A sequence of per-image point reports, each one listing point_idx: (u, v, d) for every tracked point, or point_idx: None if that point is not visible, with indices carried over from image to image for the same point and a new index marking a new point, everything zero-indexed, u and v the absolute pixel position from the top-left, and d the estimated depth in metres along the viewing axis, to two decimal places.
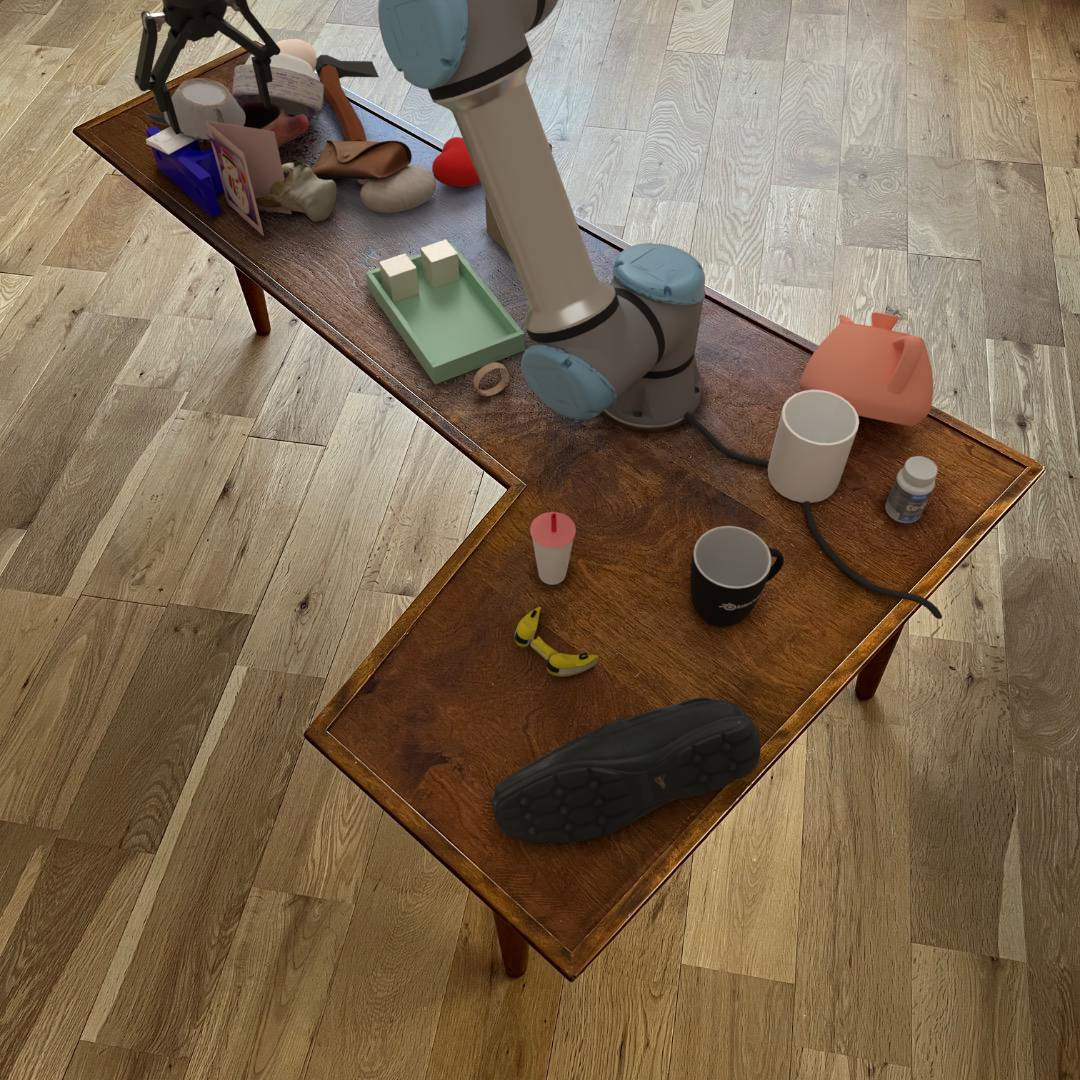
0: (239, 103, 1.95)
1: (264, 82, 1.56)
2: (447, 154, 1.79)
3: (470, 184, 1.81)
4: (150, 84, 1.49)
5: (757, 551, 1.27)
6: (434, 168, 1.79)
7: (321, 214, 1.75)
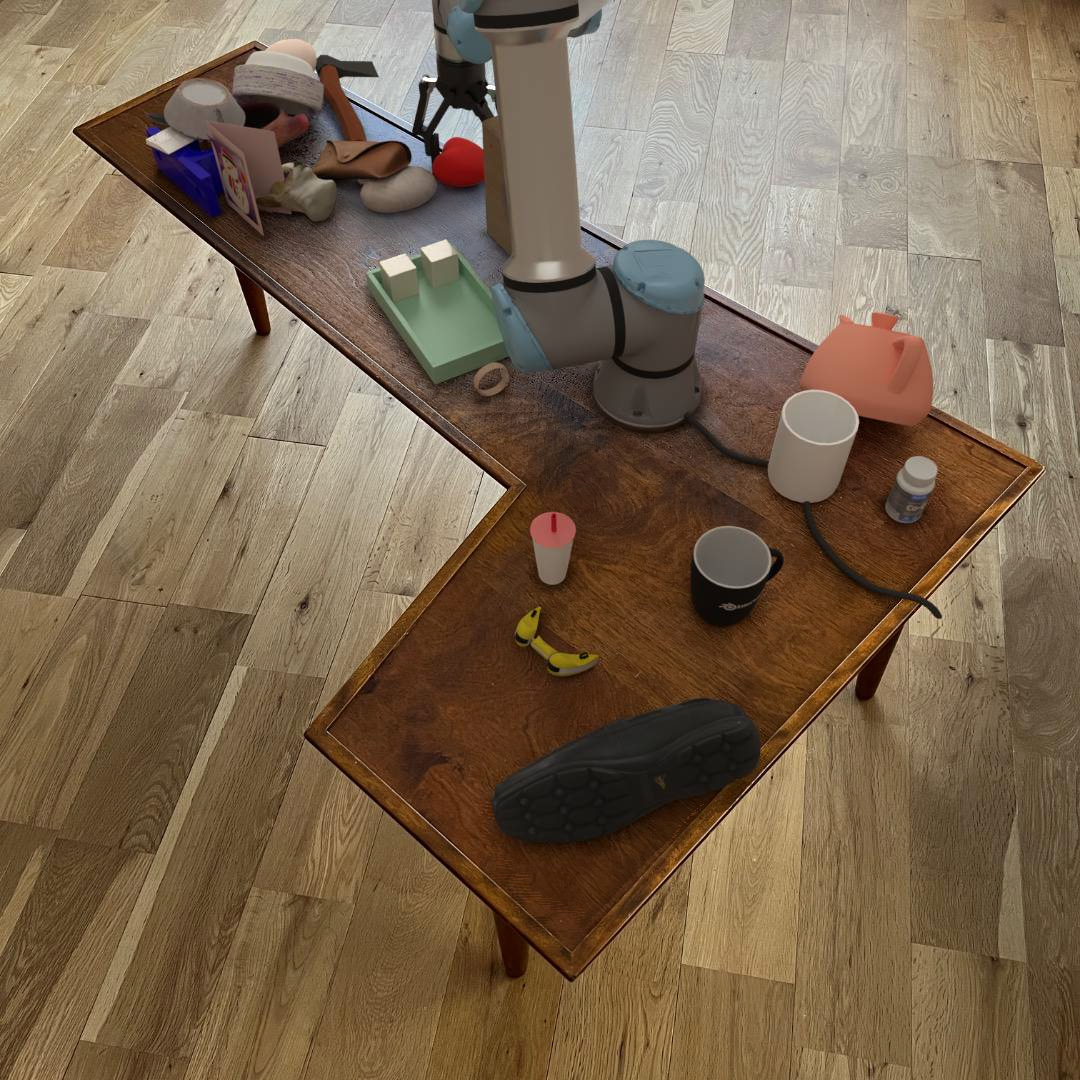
0: (239, 103, 1.95)
1: None
2: (447, 154, 1.79)
3: (470, 184, 1.81)
4: (422, 133, 1.79)
5: (757, 551, 1.27)
6: (434, 168, 1.79)
7: (321, 214, 1.75)
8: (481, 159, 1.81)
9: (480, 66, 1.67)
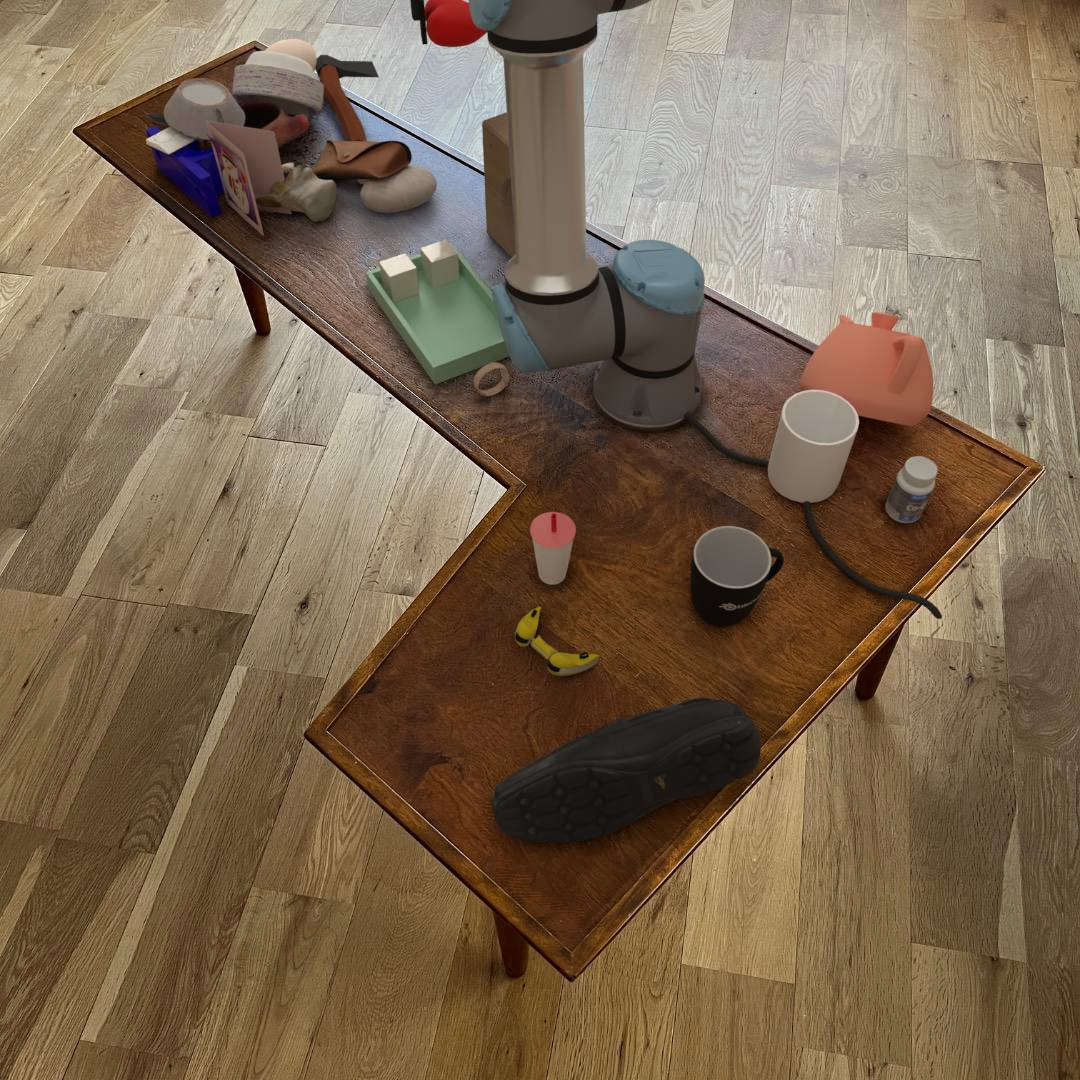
0: (239, 103, 1.95)
1: None
2: (442, 10, 1.59)
3: (473, 40, 1.61)
4: None
5: (757, 551, 1.27)
6: (432, 29, 1.59)
7: (321, 214, 1.75)
8: None
9: None
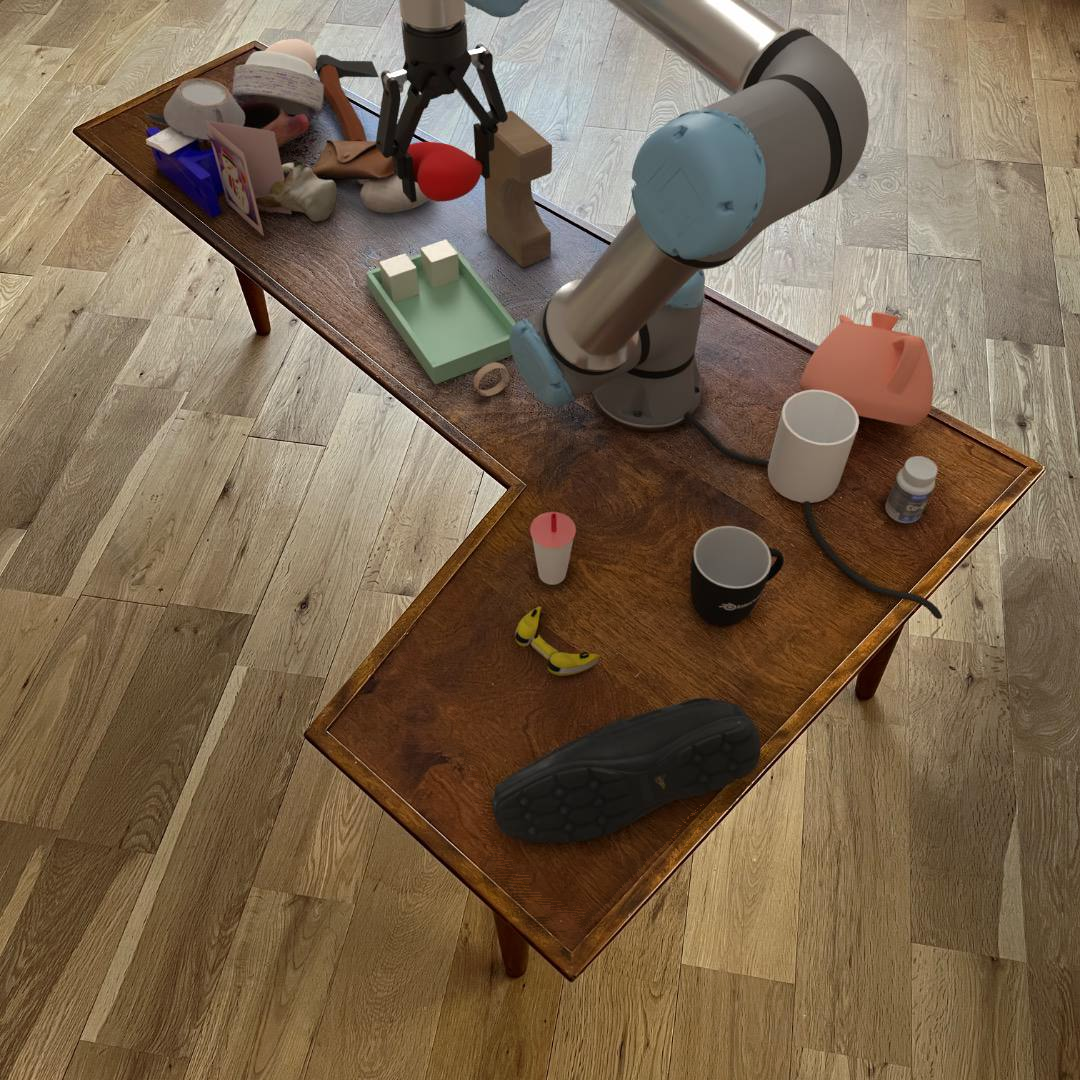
0: (239, 103, 1.95)
1: (486, 151, 1.41)
2: (435, 163, 1.37)
3: (473, 187, 1.40)
4: (393, 151, 1.35)
5: (757, 551, 1.27)
6: (432, 186, 1.36)
7: (321, 214, 1.75)
8: (465, 153, 1.41)
9: None
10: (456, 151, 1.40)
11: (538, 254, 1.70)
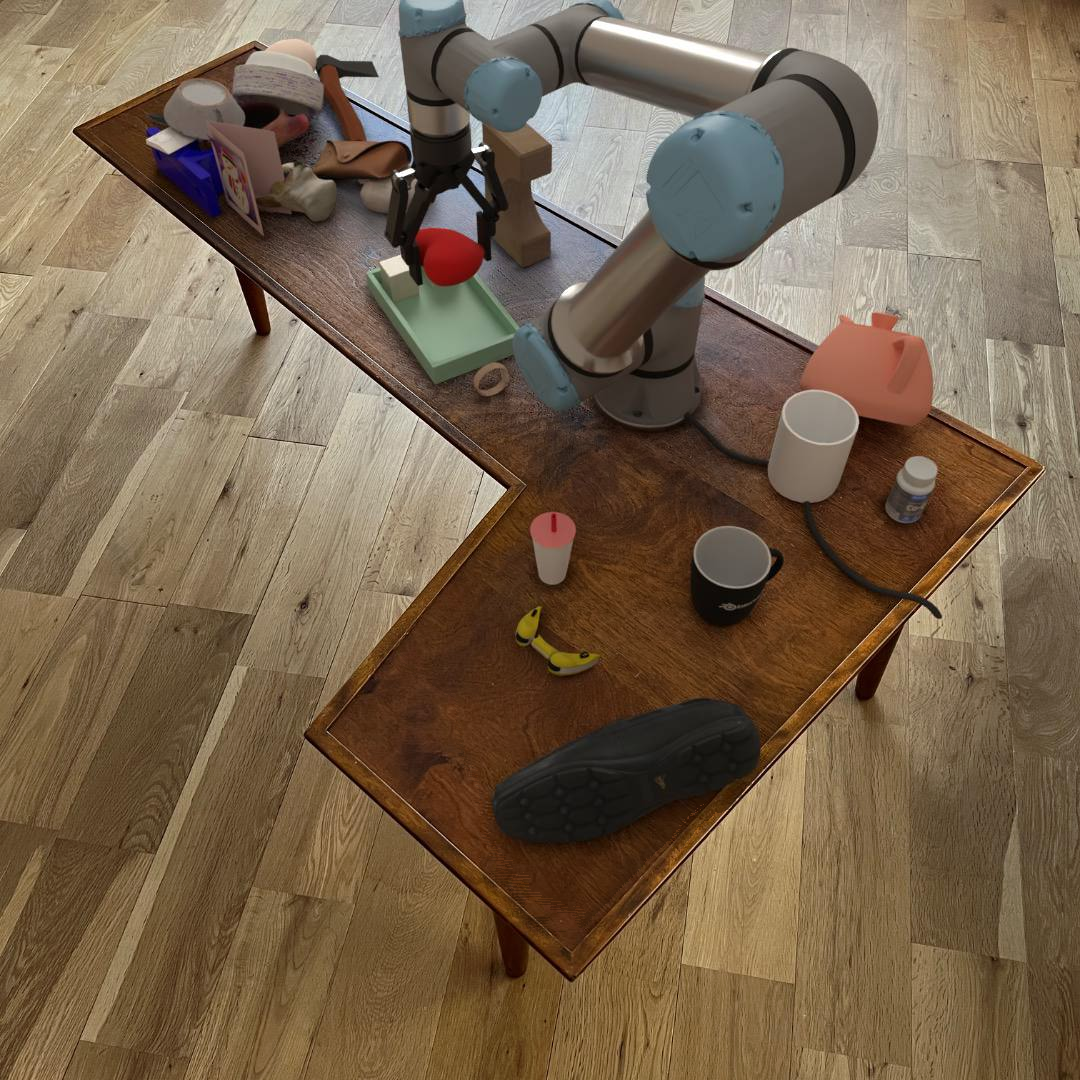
0: (239, 103, 1.95)
1: (488, 237, 1.49)
2: (441, 251, 1.45)
3: (476, 272, 1.48)
4: (401, 241, 1.43)
5: (757, 551, 1.27)
6: (437, 274, 1.44)
7: (321, 214, 1.75)
8: (468, 240, 1.49)
9: None
10: (460, 238, 1.48)
11: (538, 254, 1.70)
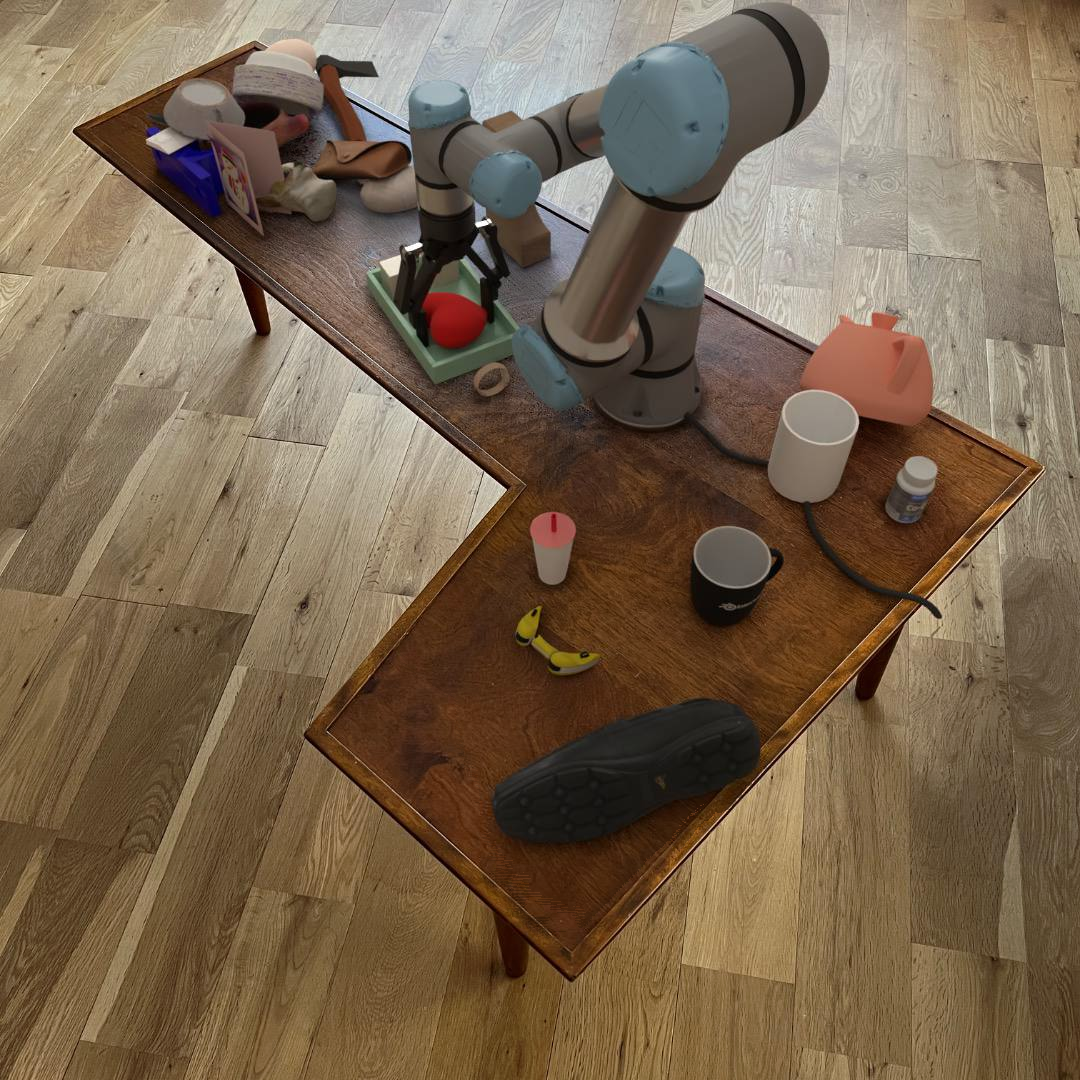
0: (239, 103, 1.95)
1: (491, 302, 1.58)
2: (446, 316, 1.54)
3: None
4: (409, 308, 1.52)
5: (757, 551, 1.27)
6: (443, 337, 1.53)
7: (321, 214, 1.75)
8: (472, 304, 1.58)
9: None
10: (464, 303, 1.57)
11: (538, 254, 1.70)
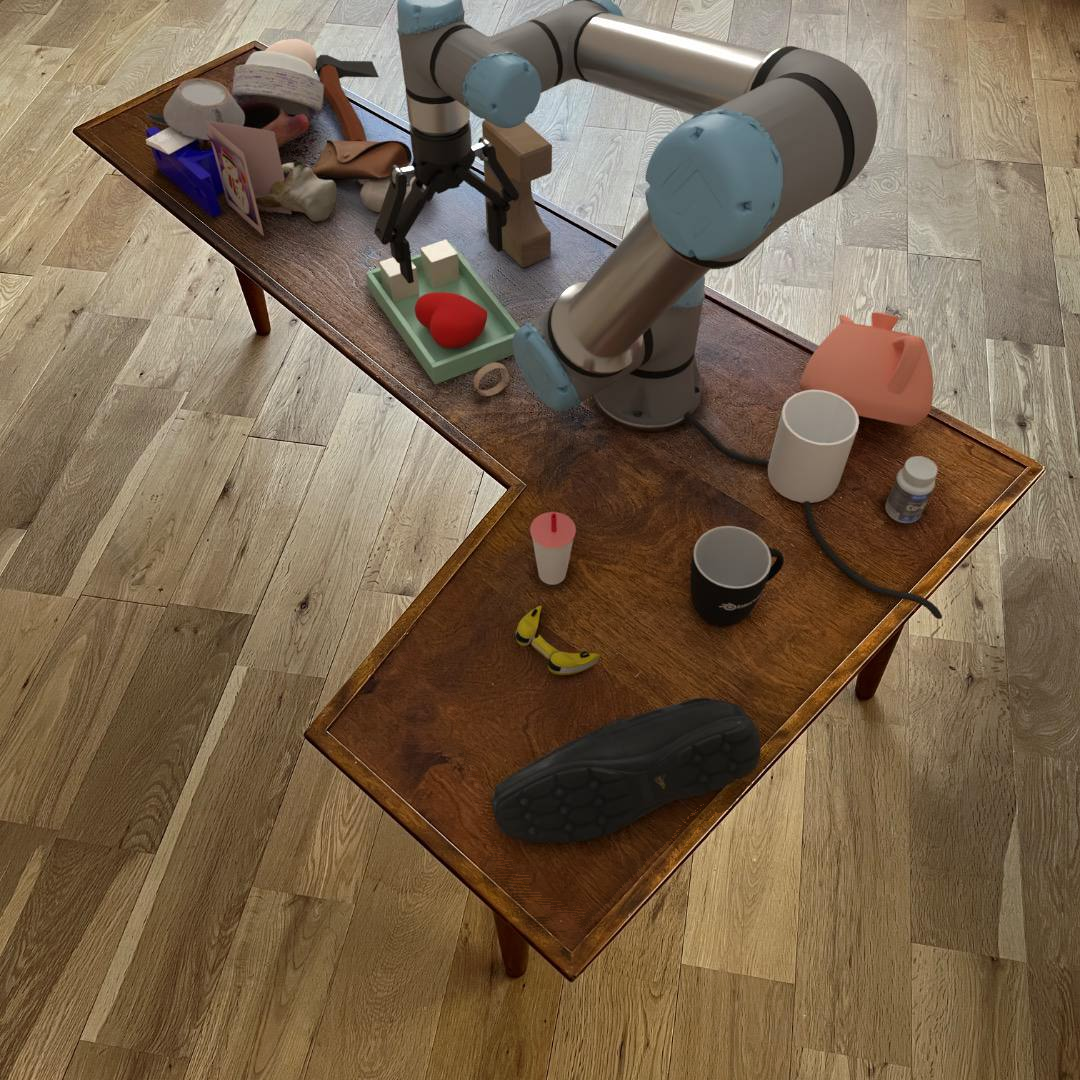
0: (239, 103, 1.95)
1: (499, 227, 1.49)
2: (446, 316, 1.54)
3: None
4: (391, 237, 1.42)
5: (757, 551, 1.27)
6: (443, 337, 1.53)
7: (321, 214, 1.75)
8: (472, 304, 1.58)
9: None
10: (464, 303, 1.57)
11: (538, 254, 1.70)
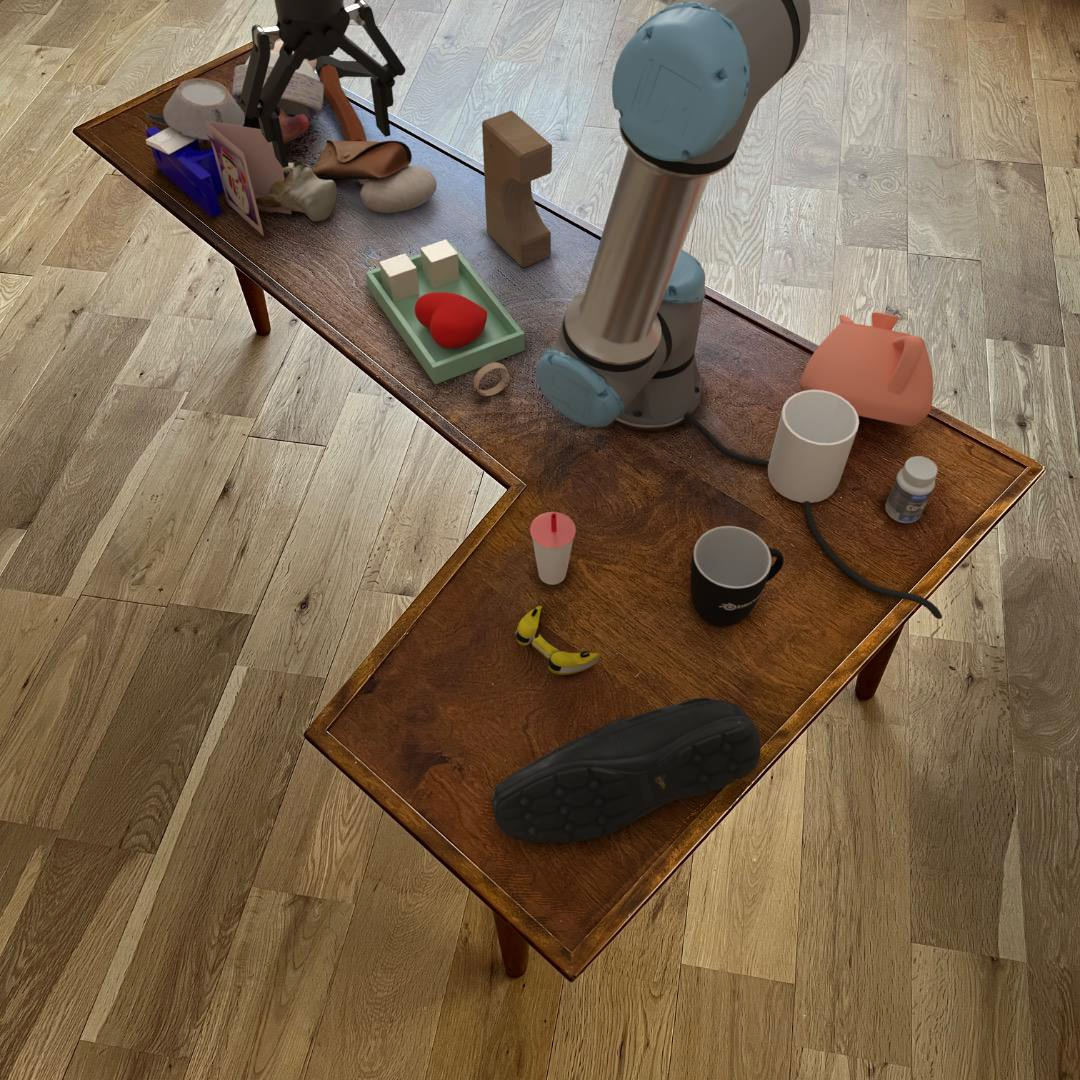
0: None
1: (384, 107, 1.34)
2: (446, 316, 1.54)
3: None
4: (257, 110, 1.27)
5: (757, 551, 1.27)
6: (443, 337, 1.53)
7: (321, 214, 1.75)
8: (472, 304, 1.58)
9: None
10: (464, 303, 1.57)
11: (538, 254, 1.70)
